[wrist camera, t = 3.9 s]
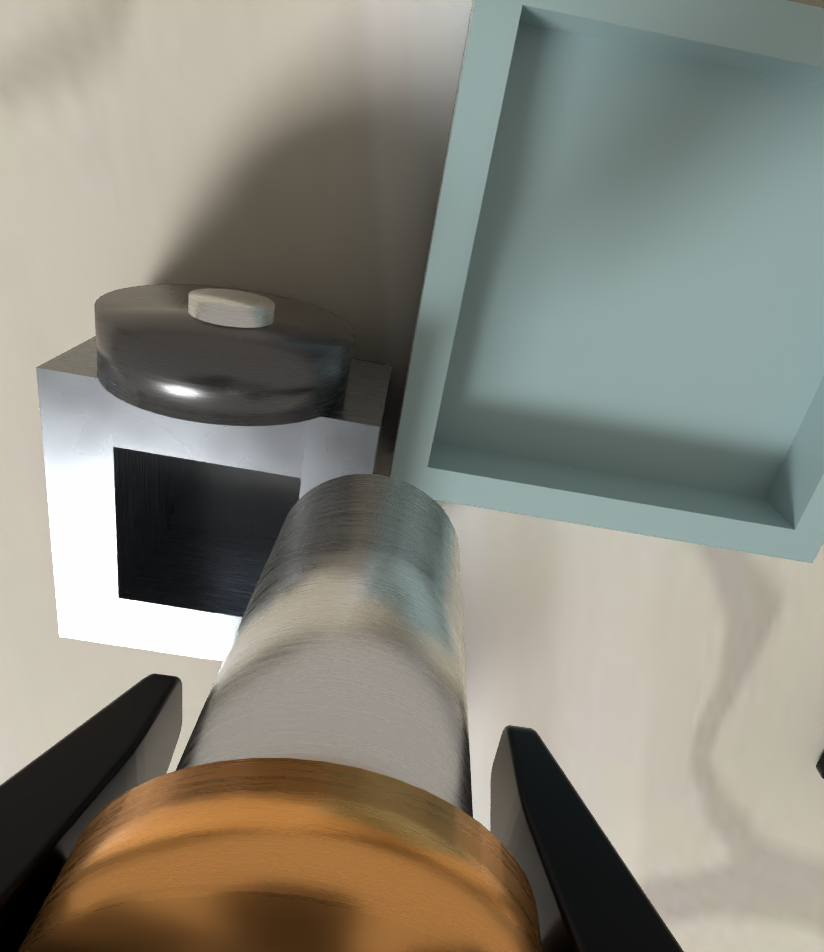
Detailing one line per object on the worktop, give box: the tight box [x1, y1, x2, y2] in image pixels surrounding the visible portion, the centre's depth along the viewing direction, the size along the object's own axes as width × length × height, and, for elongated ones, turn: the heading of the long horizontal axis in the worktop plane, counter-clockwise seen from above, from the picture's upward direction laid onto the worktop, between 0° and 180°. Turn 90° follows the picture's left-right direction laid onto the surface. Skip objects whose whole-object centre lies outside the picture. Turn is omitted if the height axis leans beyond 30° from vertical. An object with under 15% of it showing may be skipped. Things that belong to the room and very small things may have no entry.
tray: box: [390, 0, 824, 563], centre depth 17 cm, size 13×13×2 cm
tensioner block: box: [36, 284, 392, 661], centre depth 18 cm, size 8×10×6 cm
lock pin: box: [17, 474, 543, 952], centre depth 9 cm, size 5×5×8 cm
